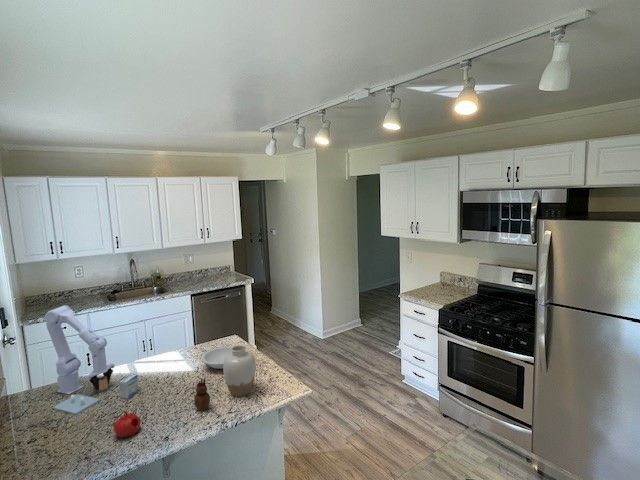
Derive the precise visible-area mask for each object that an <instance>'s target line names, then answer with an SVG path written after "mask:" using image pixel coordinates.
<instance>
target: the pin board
mask: <svg viewBox="0 0 640 480" xmlns="http://www.w3.org/2000/svg"><path fill="white" fill-rule="evenodd" d="M100 402H101V399H100V398H95V397H93V396H88V395H84V394H81V393H80V394H79V393H77V394H70V397H69V398H68V399H65V400H64V401H62V402H59V403H58V404H57V405H54V406H53V407H52V409H53V410H56V411H60V412H64V413H67V414H71V415H75V416H78V415H79V414H81V413H82V412H83V411H86V410H87V409H89V408H91V407H92V406H94V405H96V404H98V403H100Z"/></svg>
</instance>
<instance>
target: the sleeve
mask: <svg viewBox="0 0 640 480" xmlns="http://www.w3.org/2000/svg"><path fill="white" fill-rule="evenodd" d="M98 378H100V379H99V390H95V392H96V393H98V392H99V393H104V392H106V391H108V390H109V384H108V378H107V376H104V375H102V376H98Z"/></svg>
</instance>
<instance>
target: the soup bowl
mask: <svg viewBox="0 0 640 480" xmlns="http://www.w3.org/2000/svg"><path fill="white" fill-rule="evenodd" d="M234 346H235V345H234ZM234 346H232V345H231V346H229V345H228V346H220V347H216V348H212V349H210V350H207V351H206V352H205V353H203V355H202V356H201V361H202V362H203V363H204V364H206V365H208V367H210V368H212V369H215V370H216V369H217V370H218V369H219V370H220V369H221V370H223V363H224V360H225V358H226V356H227V355H229V354H230V353H232V351H231V349H232V347H234Z"/></svg>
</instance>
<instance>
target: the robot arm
mask: <svg viewBox="0 0 640 480" xmlns="http://www.w3.org/2000/svg"><path fill="white" fill-rule="evenodd" d="M44 319H45V322H46V324H45V325H46V329H47V331H48V334H49V336H50V340H51V342H52V344H53V347H54V350H55V352H56V354H57V357H58V359H57V361H56V363H55V366H56V374H57V375H58V376H57V388H58V390H56V392H57V393H59V394H61V393H62V394H65V395H72V394H73V393H74V392H76V391H78V390H80V389H83V388H84V385H81V384H80V377H79V370H80V369H79V368H80V367H81V366H82V365H81V364H82V363H81V360H80V358H78V356H77V354H75V353H72V351H71V349H70V346H69V344H68V341H67V338H66V336H65V333H64V330H63V327H62V324H67V325H68V326H69V327H71V328H73V329H74V330H75V331H76V332H77V333H78V336H79V338H80V339H81V340H82V341H84V343H85V344H87V345H88V347H87V348H88V350H89V351H90V354H91V359H92V365H93V366H92V367H93V371H92V372H90V373H89V374H86V375H85V380H86V381H90V383H91V384H92V386H93V389H94V390H95V391H96V390H99V379H100V378H99V375H101V374H103V375H102V376H107V378H108V385H109V384H110V381H111V377H112V374H113V372H114V368H115V363H110V364H107V357H106V348H105V347H107V345H108V341H107V339H106V337H104V336H100V335H98V334H97V333H95V332H94V330H93V329H92V328H90V327H85V325H83V323H82V322H81V321H80V320H79V319H78V318H77V317H76V315H74V311H73V309H71V307H70V306H69V305H66V304H65V305H62V306H61V305H60V306H59V307H57V308H54V309H51V310H48V311H47V312H46V313H45V315H44Z"/></svg>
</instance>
